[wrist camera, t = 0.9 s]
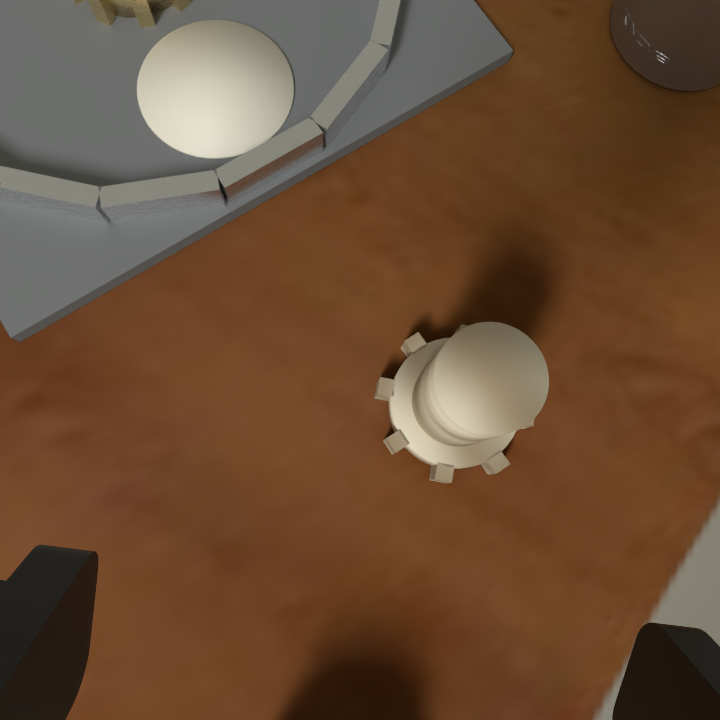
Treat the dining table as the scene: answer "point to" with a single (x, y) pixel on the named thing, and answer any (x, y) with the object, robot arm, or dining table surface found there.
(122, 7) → the sun gear
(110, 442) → the dining table surface
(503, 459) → the planet gear
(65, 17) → the carrier plate
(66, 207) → the ring gear
